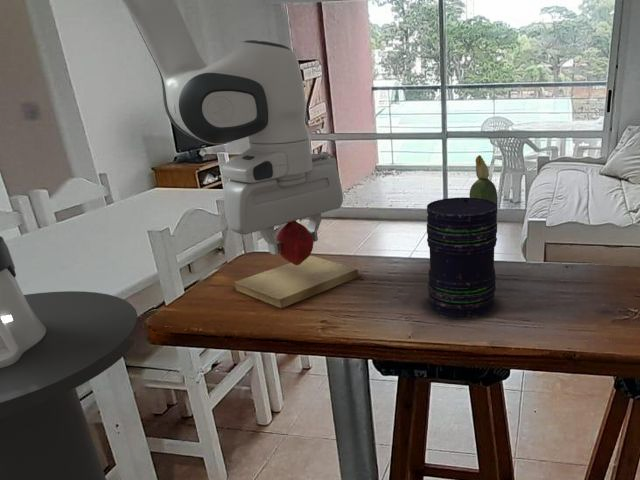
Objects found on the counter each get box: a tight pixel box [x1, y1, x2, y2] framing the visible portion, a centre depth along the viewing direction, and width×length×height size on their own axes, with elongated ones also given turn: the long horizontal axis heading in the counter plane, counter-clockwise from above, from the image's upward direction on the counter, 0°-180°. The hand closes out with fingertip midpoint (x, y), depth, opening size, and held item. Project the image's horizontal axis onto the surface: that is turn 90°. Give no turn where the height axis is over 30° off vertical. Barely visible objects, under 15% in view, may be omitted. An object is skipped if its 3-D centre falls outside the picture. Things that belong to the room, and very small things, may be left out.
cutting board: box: [234, 255, 359, 309], centre depth 94 cm, size 16×12×2 cm
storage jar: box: [426, 196, 498, 320], centre depth 82 cm, size 10×10×15 cm
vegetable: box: [469, 154, 499, 216], centre depth 90 cm, size 4×4×20 cm
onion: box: [275, 220, 314, 265], centre depth 91 cm, size 6×6×8 cm
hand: (293, 247), depth 92 cm, fingers closed on onion, 6 cm apart
